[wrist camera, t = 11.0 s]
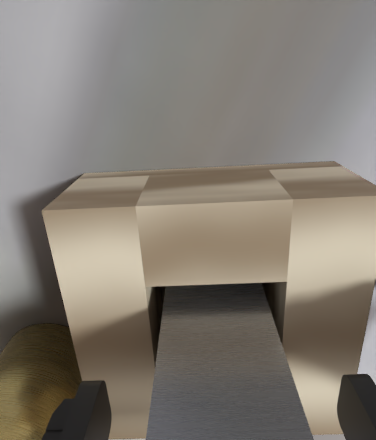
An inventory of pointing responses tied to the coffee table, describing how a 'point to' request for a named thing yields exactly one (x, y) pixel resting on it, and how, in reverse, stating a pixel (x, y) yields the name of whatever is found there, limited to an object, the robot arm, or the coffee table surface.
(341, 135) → the coffee table surface
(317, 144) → the coffee table surface
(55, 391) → the round brass bit
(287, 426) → the bar
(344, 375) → the robot arm
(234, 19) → the coffee table surface
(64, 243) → the socket block
